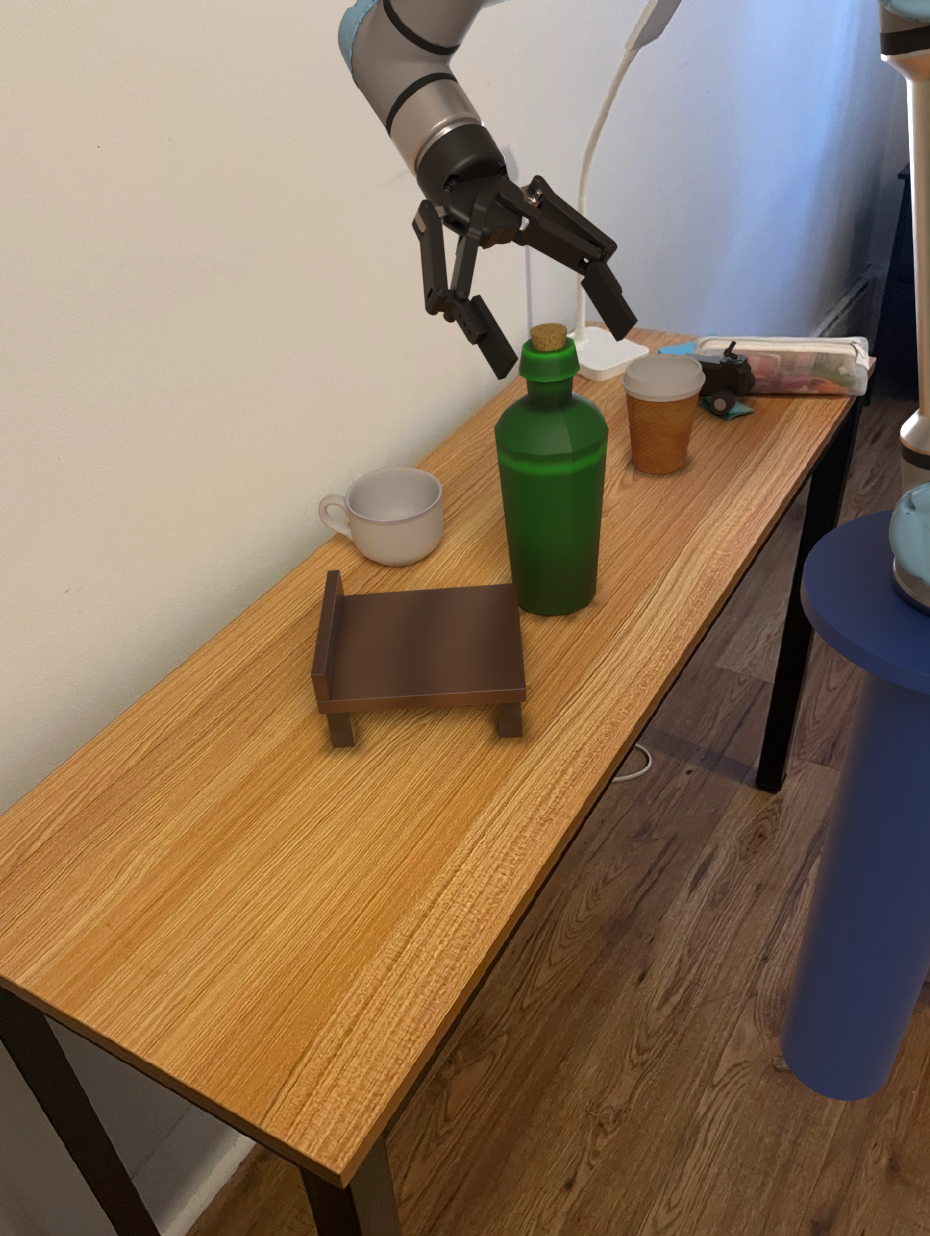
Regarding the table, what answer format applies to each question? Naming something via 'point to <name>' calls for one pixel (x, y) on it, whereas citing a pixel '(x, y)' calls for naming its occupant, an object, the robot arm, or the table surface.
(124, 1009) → the table surface
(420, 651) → the shelf
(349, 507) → the teacup
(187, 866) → the table surface
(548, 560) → the bottle
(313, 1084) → the table surface
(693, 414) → the disposable coffee cup
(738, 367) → the toy vehicle
